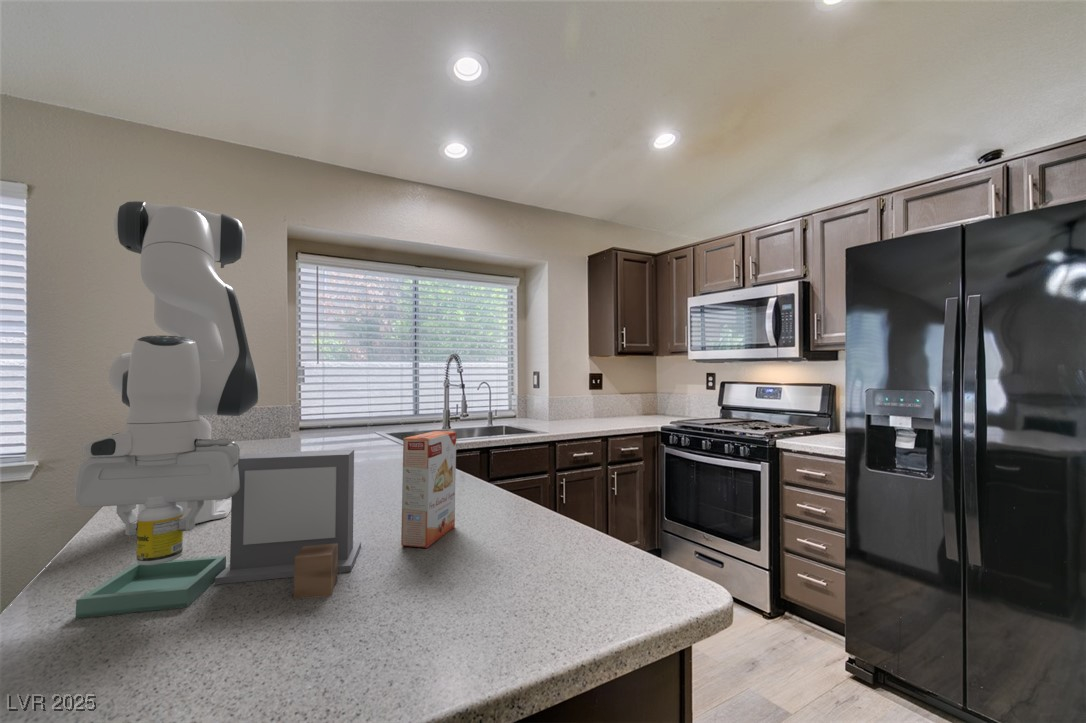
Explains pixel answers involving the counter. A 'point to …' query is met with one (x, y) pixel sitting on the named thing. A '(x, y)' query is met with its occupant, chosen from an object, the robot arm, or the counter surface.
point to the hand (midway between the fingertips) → (160, 532)
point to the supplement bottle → (159, 532)
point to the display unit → (290, 512)
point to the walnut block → (315, 571)
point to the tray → (151, 587)
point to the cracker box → (428, 487)
